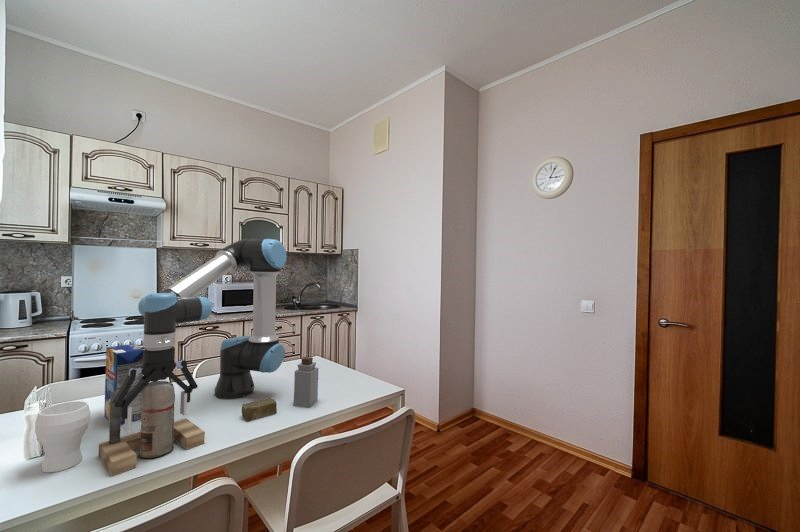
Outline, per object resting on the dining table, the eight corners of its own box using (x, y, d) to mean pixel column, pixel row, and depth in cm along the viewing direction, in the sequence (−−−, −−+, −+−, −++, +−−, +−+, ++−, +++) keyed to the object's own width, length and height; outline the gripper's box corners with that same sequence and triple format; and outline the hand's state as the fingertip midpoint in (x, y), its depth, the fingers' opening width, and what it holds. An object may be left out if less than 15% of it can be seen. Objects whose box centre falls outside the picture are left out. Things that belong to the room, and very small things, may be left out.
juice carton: (104, 416, 121) (106, 347, 121) (130, 409, 127) (132, 344, 127) (114, 427, 114) (116, 353, 114) (141, 419, 120) (144, 349, 120)
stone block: (240, 417, 124) (240, 403, 124) (271, 408, 132) (271, 395, 132) (246, 423, 120) (247, 408, 120) (278, 413, 128) (279, 400, 128)
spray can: (134, 452, 100) (136, 382, 100) (167, 441, 106) (169, 375, 106) (143, 463, 94) (145, 389, 94) (177, 451, 100) (180, 382, 101)
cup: (47, 480, 86) (49, 419, 86) (24, 469, 90) (26, 411, 90) (98, 458, 96) (99, 404, 96) (75, 450, 100) (77, 397, 100)
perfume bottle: (309, 407, 134) (311, 361, 134) (293, 405, 135) (295, 359, 135) (317, 401, 140) (318, 356, 140) (301, 399, 142) (303, 355, 142)
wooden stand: (98, 456, 97) (100, 393, 97) (185, 428, 114) (187, 375, 114) (112, 476, 88) (114, 407, 88) (204, 443, 105) (206, 385, 105)
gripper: (107, 358, 88) (104, 442, 88) (210, 342, 107) (208, 411, 107) (99, 352, 92) (97, 432, 92) (200, 339, 112) (198, 405, 112)
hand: (157, 421), depth 100 cm, fingers open, 13 cm apart
